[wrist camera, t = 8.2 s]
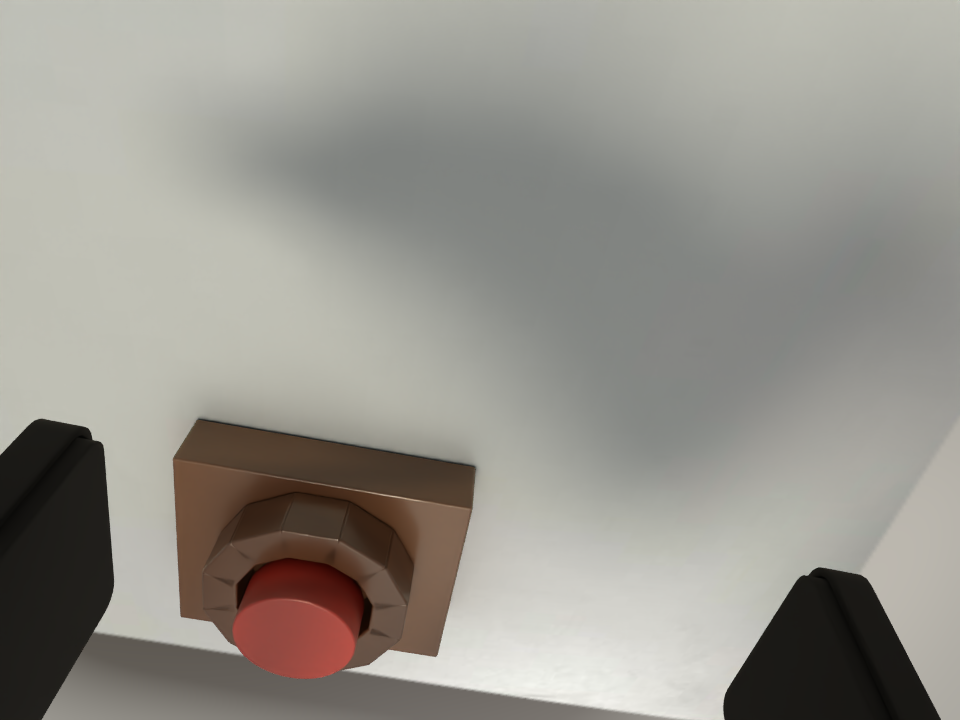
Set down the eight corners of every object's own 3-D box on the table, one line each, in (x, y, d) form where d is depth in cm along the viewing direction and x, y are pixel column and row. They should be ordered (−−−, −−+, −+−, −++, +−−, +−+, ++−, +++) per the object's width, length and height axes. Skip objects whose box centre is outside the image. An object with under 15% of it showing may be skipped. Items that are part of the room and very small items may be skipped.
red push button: (370, 567, 24) (360, 610, 23) (359, 643, 26) (349, 687, 25) (249, 547, 24) (231, 589, 23) (247, 626, 26) (231, 669, 25)
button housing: (476, 466, 27) (469, 548, 23) (442, 612, 31) (432, 700, 27) (197, 418, 26) (148, 495, 23) (200, 573, 30) (160, 658, 27)
